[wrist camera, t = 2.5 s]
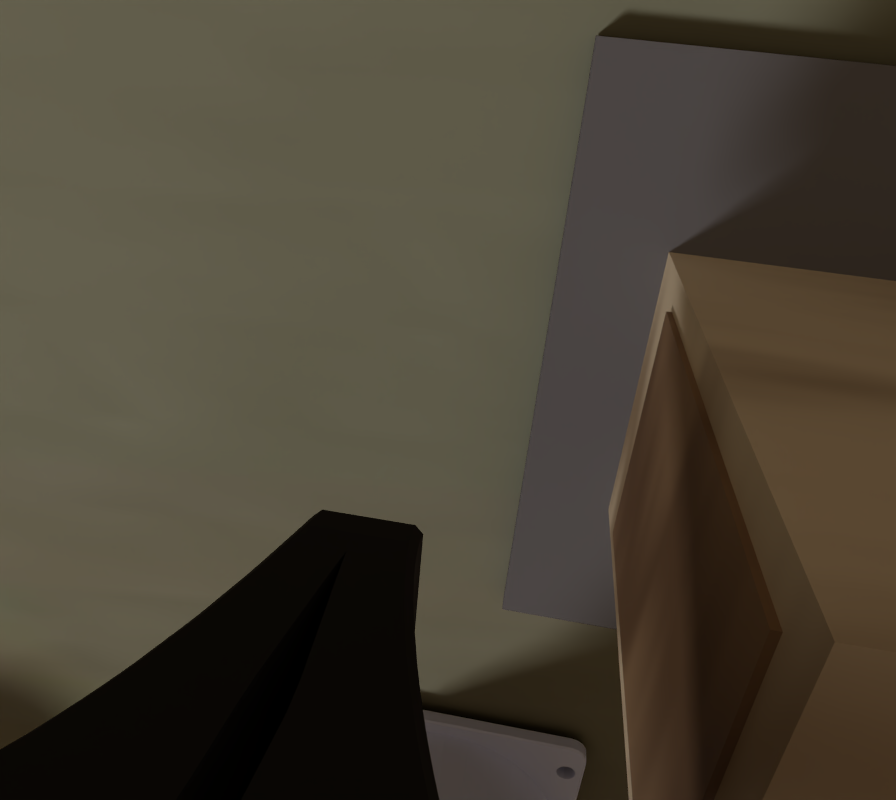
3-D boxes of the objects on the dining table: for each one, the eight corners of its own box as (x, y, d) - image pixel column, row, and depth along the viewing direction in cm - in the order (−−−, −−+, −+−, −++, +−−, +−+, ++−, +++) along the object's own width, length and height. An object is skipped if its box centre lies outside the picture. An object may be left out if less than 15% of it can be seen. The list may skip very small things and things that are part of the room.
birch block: (883, 553, 16) (1260, 1194, 7) (603, 508, 17) (637, 1050, 8) (1003, 294, 13) (1858, 821, 4) (663, 251, 14) (819, 638, 5)
